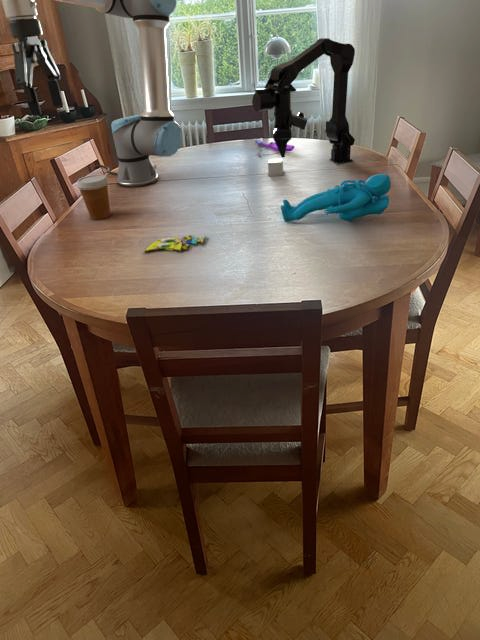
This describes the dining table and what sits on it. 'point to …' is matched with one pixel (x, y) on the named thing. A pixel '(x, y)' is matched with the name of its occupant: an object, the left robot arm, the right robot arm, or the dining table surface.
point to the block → (275, 167)
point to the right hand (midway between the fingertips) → (283, 154)
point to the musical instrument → (273, 146)
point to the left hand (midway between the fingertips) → (48, 110)
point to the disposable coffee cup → (95, 195)
